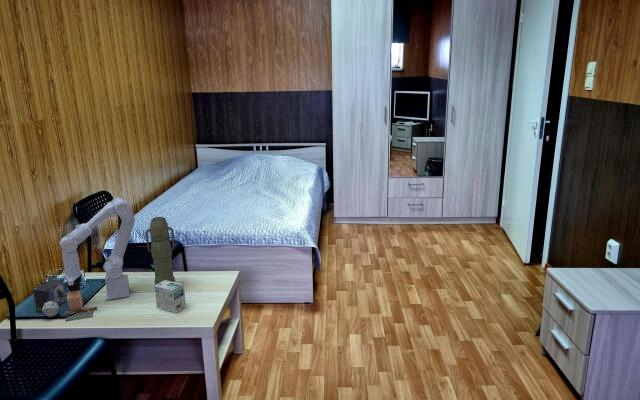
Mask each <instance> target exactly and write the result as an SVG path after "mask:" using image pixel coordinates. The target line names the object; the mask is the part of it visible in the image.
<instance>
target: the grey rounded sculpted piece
mask: <svg viewBox="0 0 640 400" xmlns="http://www.w3.org/2000/svg"><path fill="white" fill-rule="evenodd" d="M59 310H60V306H59V305H58V304H57V303H56V302H52V301H48V302H47V303H45V304H44V306H43V309H42V311H43V312H42V313H43V315H45V316H47V317H50V318H52V316H53V317H55V316H57V314H59Z"/></svg>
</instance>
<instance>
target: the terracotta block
mask: <svg viewBox="0 0 640 400" xmlns="http://www.w3.org/2000/svg"><path fill="white" fill-rule="evenodd" d="M66 302H67V304H68V308H69V311H72V310H78V309H84V302H83V297H82V294H81V289H80V290H76V291H70V290H69V291H67V296H66Z"/></svg>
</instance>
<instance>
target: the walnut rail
mask: <svg viewBox="0 0 640 400" xmlns="http://www.w3.org/2000/svg"><path fill="white" fill-rule="evenodd" d="M95 310H97V311H98V306H93V307H92V306H91V307H86V308H83V309H78V310H72V311H70V310H66V311H65V312H64V315H65V314H68V313H72V312H76V313H77V314H78V313H82V312H84V313H85V312H88V311H90V312H91V311H94V312H95Z"/></svg>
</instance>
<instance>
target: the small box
mask: <svg viewBox="0 0 640 400" xmlns="http://www.w3.org/2000/svg"><path fill="white" fill-rule="evenodd" d="M32 292H33V298H34V303H35V304H34V305H35V311H36V312H38V311H39V313H44V312H43V311H42V309H43V306H44V304H45V303H47V302H48V301H52V302H56V303H57V304H58V305H60V306H62V303H63V304H64V303H66V302H67V298H66V293H65V287H64V281H63V280H60V279H49V280H48V281H45V282H43V283H41V284H39V285H38V286H36V287H35V288H32Z"/></svg>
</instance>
